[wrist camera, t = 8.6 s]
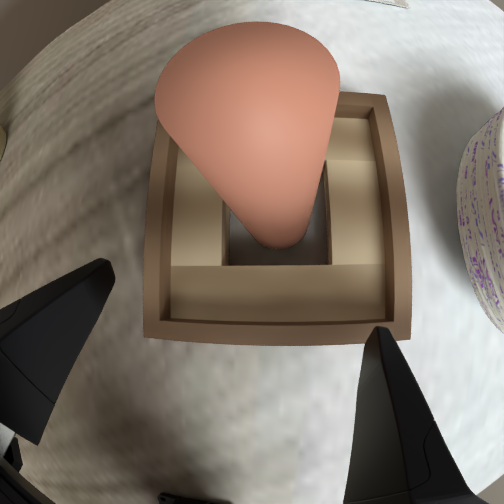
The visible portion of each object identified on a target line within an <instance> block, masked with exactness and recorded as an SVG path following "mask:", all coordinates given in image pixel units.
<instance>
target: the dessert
mask: <svg viewBox="0 0 504 504" xmlns="http://www.w3.org/2000/svg"><path fill="white" fill-rule="evenodd" d="M368 1H374V2H380V3H385V4H390V5H395V6H399V7H405V8H410V6H409V5H408V3H407V2H406V0H394V1H395V3H392V2H387V1H382V0H368Z"/></svg>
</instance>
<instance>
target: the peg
mask: <svg viewBox="0 0 504 504" xmlns="http://www.w3.org/2000/svg"><path fill="white" fill-rule="evenodd" d="M339 91H340V75H339V70H338V67H337V64H336V62H335V60H334V58H333V56H332V55H331V54H330V52H329V51H328V50H327V49H326V48H325V47H324V46H323V45H322V44H321V43H320V42H319V41H318V40H316V39H315V38H314V37H312V36H310V35H309V34H307V33H305V32H303V31H301V30H299V29H296V28H293V27H290V26H287V25H283V24H278V23H271V22H244V23H237V24H232V25H227V26H224V27H220V28H217V29H214V30H212V31H210V32H207V33H205V34H203V35H201V36H199V37H197V38H196V39H194V40H193V41H191V42H190V43H188V44H187V45H186V46H184V47H183V48H182V49H181V50H179V51H178V52H177V53H176V54H175V55H174V56H173V57H172V59H171V60H170V61H169V62H168V64H167V65H166V67H165V68H164V70H163V71H162V73H161V75H160V77H159V80H158V83H157V86H156V90H155V109H156V114H157V116H158V119H159V121H160V123H161V124H162V126H163V127H164V129H165V130H166V131H167V133H168V134H169V135H170V136H171V137H172V139H173V140H174V141H175V142H176V143H177V145H178V146H179V147H180V148H181V149H182V151H183V152H184V153H185V154H186V155H187V157H188V158H189V159H190V160H191V162H192V163H193V164H194V165H195V166H196V168H197V169H198V170H199V171H200V172H201V174H202V175H203V176H204V177H205V179H206V180H207V181H208V182H209V183H210V185H211V186H212V187H213V188H214V190H215V191H216V192H217V193H218V194H219V196H220V197H221V198H222V199H223V201H224V202H225V203H226V204H227V205H228V207H229V208H230V209H231V210H232V212H233V213H234V214H235V215H236V216H237V218H238V219H239V220H240V221H241V223H242V224H243V225H244V226H245V228H246V229H247V230H248V231H249V232H250V234H251V235H252V236H253V237H254V239H255V240H256V241H257V242H259V243H260V244H261V245H263V246H265V247H267V248H271V249H286V248H289V247H291V246H293V245H295V244H296V243H298V242H299V241H300V240H301V239H302V238H303V236H304V235H305V233H306V231H307V228H308V225H309V221H310V217H311V214H312V210H313V206H314V202H315V198H316V194H317V190H318V186H319V182H320V177H321V173H322V169H323V165H324V161H325V156H326V152H327V147H328V143H329V139H330V134H331V129H332V125H333V120H334V115H335V111H336V106H337V101H338V96H339Z"/></svg>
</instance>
